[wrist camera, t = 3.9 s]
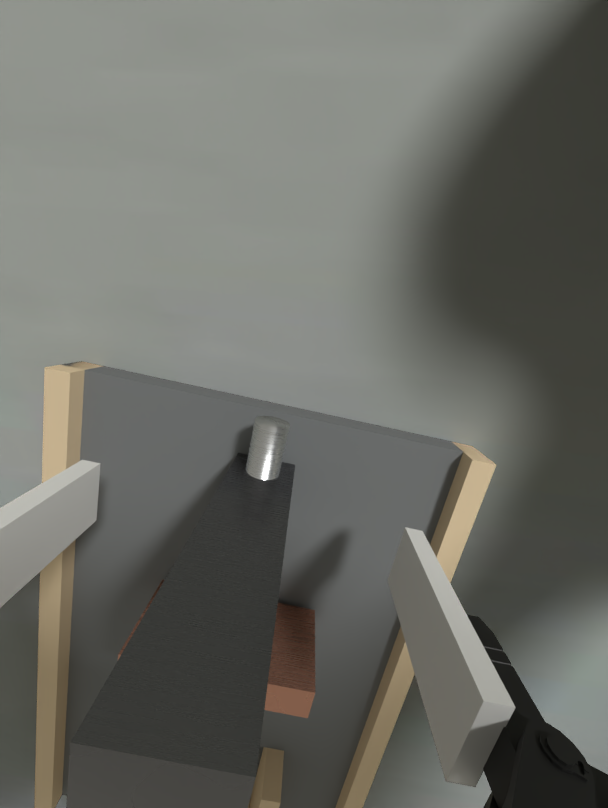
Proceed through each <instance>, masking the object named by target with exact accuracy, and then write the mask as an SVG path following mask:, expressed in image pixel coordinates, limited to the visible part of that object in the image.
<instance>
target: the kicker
mask: <svg viewBox="0 0 608 808" xmlns="http://www.w3.org/2000/svg"><path fill="white" fill-rule="evenodd" d="M289 427H290V424H289V423H288V422H287V421H285V420H283V419H280V418H277V417H272V416H258V417H256V418H255V421H254V427H253V432H252V437H251V443H250V448H249V453H248V455H247V454H242V453H238V454H237V456H236V458H235V459H234V461H233V463H232V464H231V466H230V468H229V470H228V471H227V473H226V475H225V477H224V478H223V480H222V482H221V483H220V485H219V487H218V489H217V490H216V492H215V494H214V496H213V497H212V499H211V501H210V502H209V504H208V506H207V508H206V509H205V511H204V513H203V514H202V516H201V518H200V520H199V521H198V523H197V525H196V527H195V528H194V530H193V532H192V533H191V535H190V537H189V539H188V540H187V542H186V544H185V546H184V547H183V549H182V551H181V552H180V554H179V556H178V558H177V559H176V561H175V563H174V565H173V566H172V568H171V570H170V571H169V573H168V575H167V577H166V578H165V580H162V581H161V583H160V584H159V586H158V588H157V590H156V591H155V593H154V595H153V596H152V598H151V600H150V601H149V603H148V605H147V607H146V608H145V610H144V612H143V613H142V615H141V617H140V618H139V620H138V622H137V624H136V625H135V627H134V629H133V630H132V632H131V634H130V635H129V637H128V639H127V640H126V642H125V644H124V646H123V647H122V649H121V651H120V652H119V654H118V661H117V663H116V665H115V666H114V668H113V670H112V671H111V673H110V675H109V677H108V678H107V680H106V682H105V684H104V685H103V687H102V689H101V690H100V692H99V694H98V696H97V697H96V699H95V701H94V703H93V704H92V706H91V708H90V709H89V711H88V713H87V715H86V716H85V718H84V720H83V721H82V723H81V725H80V727H79V728H78V730H77V732H76V734H75V735H74V737H73V739H72V740H71V742H70V756H69V772H68V789H67V806H66V808H248V805H249V801H250V798H251V794H252V790H253V786H254V782H255V779H256V772H257V764H258V756H259V748H260V740H261V732H262V724H263V717H264V710H267V711H272V712H277V713H283V714H288V715H293V716H298V717H303V718H308V716H309V713H310V709H311V706H312V703H313V699H314V696H315V610H311V609H306V608H301V607H296V606H291V605H287V604H282V603H278V598H279V590H280V582H281V574H282V566H283V558H284V550H285V542H286V534H287V527H288V519H289V511H290V503H291V495H292V487H293V479H294V471H295V465H294V464H289V463H285V462H282V459H283V455H284V450H285V446H286V441H287V436H288V432H289Z"/></svg>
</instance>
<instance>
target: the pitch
mask: <svg viewBox="0 0 608 808" xmlns="http://www.w3.org/2000/svg"><path fill="white" fill-rule="evenodd" d="M258 416H272V417H277V418H280V419H283V420H285V421H287V422H288V423H289V424H290V427H289V432H288V436H287V441H286V446H285V450H284V455H283V459H282V462H285V463H289V464H294V465H295V471H294V479H293V487H292V495H291V503H290V511H289V519H288V527H287V534H286V542H285V550H284V558H283V566H282V574H281V582H280V590H279V598H278V603H282V604H287V605H291V606H296V607H301V608H306V609H311V610H315V696H314V699H313V703H312V706H311V709H310V713H309V716H308V718H303V717H298V716H293V715H288V714H283V713H277V712H272V711H267V710H264V717H263V724H262V732H261V740H260V748H259V756H258V764H257V772H256V779H255V782H254V786H253V790H252V794H251V798H250V801H249V805H248V808H363V805H364V803H365V800H366V798H367V795H368V793H369V790H370V787H371V785H372V782H373V780H374V777H375V775H376V772H377V769H378V767H379V764H380V762H381V759H382V757H383V754H384V752H385V749H386V746H387V744H388V741H389V739H390V736H391V734H392V731H393V729H394V726H395V723H396V721H397V718H398V716H399V713H400V711H401V708H402V705H403V703H404V700H405V698H406V695H407V693H408V690H409V688H410V685H411V682H412V680H413V677H414V675H415V673H414V670H413V666H412V663H411V659H410V656H409V652H408V649H407V646H406V642H405V639H404V635H403V632H402V628H401V625H400V621H399V618H398V615H397V611H396V608H395V604H394V601H393V597H392V594H391V590H390V587H389V584H388V577H389V574H390V571H391V568H392V565H393V562H394V559H395V556H396V553H397V550H398V547H399V544H400V541H401V538H402V535H403V532H404V529H405V527H407V528H411V529H416V530H421V531H423V533H424V535H425V537H426V539H427V540H428V542H429V544H430V546H431V548H432V550H433V552H434V554H435V556H436V558H437V559H438V561H439V563H440V565H441V567H442V569H443V571H444V573H445V575H446V576H447V578H448V580H449V582H450V583H451V580H452V578H453V575H454V572H455V570H456V567H457V565H458V562H459V560H460V557H461V554H462V552H463V549H464V547H465V544H466V542H467V539H468V537H469V534H470V531H471V529H472V526H473V524H474V521H475V519H476V516H477V514H478V511H479V508H480V506H481V503H482V501H483V498H484V496H485V493H486V490H487V488H488V485H489V483H490V480H491V478H492V475H493V473H494V470H495V467H496V464H495V463H493V462H492V461H491V460H489V459H488V458H487V457H486V456H484V455H483V454H482V453H480V452H479V451H478V450H476V449H475V448H474V447H473V446H469V445H464V444H460V443H455V442H451V441H446V440H441V439H437V438H432V437H428V436H423V435H418V434H414V433H409V432H404V431H400V430H395V429H391V428H386V427H381V426H377V425H372V424H368V423H363V422H358V421H354V420H349V419H345V418H340V417H335V416H331V415H326V414H322V413H317V412H312V411H308V410H303V409H298V408H294V407H289V406H285V405H280V404H275V403H271V402H266V401H262V400H257V399H252V398H248V397H243V396H239V395H234V394H229V393H225V392H220V391H216V390H211V389H206V388H202V387H197V386H192V385H188V384H183V383H179V382H174V381H169V380H165V379H160V378H156V377H151V376H146V375H142V374H137V373H133V372H128V371H123V370H119V369H114V368H110V367H105V366H100V365H96V364H91V363H86V362H82V361H81V362H75V363H69V364H62V365H56V366H50V367H45V377H44V420H43V463H42V483H43V482H45V481H47V480H49V479H50V478H52V477H54V476H55V475H57V474H59V473H60V472H62V471H64V470H65V469H67V468H69V467H71V466H72V465H74V464H76V463H77V462H79V461H81V460H86V461H91V462H96V463H100V478H99V492H98V506H97V520H96V521H95V522H94V523H93V524H92V525H91V526H90V527H89V528H88V529H86V530H85V531H84V532H83V533H82V534H81V535H80V536H79V537H78V538H77V539H75V540H74V541H73V542H72V543H71V544H70V545H69V546H68V547H67V548H66V549H64V550H63V551H62V552H61V553H60V554H59V555H58V556H57V557H56V558H55V559H53V560H52V561H51V562H50V563H49V564H48V565H47V566H46V567H45V568H44V569H42V570H41V571H40V591H39V634H38V677H37V720H36V763H35V806H34V808H55V807H56V805H57V803H58V801H59V799H60V797H61V795H67V789H68V772H69V756H70V742H71V740H72V739H73V737H74V735H75V734H76V732H77V730H78V728H79V727H80V725H81V723H82V721H83V720H84V718H85V716H86V715H87V713H88V711H89V709H90V708H91V706H92V704H93V703H94V701H95V699H96V697H97V696H98V694H99V692H100V690H101V689H102V687H103V685H104V684H105V682H106V680H107V678H108V677H109V675H110V673H111V671H112V670H113V668H114V666H115V665H116V663H117V661H118V654H119V652H120V651H121V649H122V647H123V646H124V644H125V642H126V640H127V639H128V637H129V635H130V634H131V632H132V630H133V629H134V627H135V625H136V624H137V622H138V620H139V618H140V617H141V615H142V613H143V612H144V610H145V608H146V607H147V605H148V603H149V601H150V600H151V598H152V596H153V595H154V593H155V591H156V590H157V588H158V586H159V584H160V583H161V581H162V580H165V578H166V577H167V575H168V573H169V571H170V570H171V568H172V566H173V565H174V563H175V561H176V559H177V558H178V556H179V554H180V552H181V551H182V549H183V547H184V546H185V544H186V542H187V540H188V539H189V537H190V535H191V533H192V532H193V530H194V528H195V527H196V525H197V523H198V521H199V520H200V518H201V516H202V514H203V513H204V511H205V509H206V508H207V506H208V504H209V502H210V501H211V499H212V497H213V496H214V494H215V492H216V490H217V489H218V487H219V485H220V483H221V482H222V480H223V478H224V477H225V475H226V473H227V471H228V470H229V468H230V466H231V464H232V463H233V461H234V459H235V458H236V456H237V454H238V453H242V454H247V455H248V453H249V448H250V443H251V437H252V432H253V427H254V421H255V418H256V417H258Z"/></svg>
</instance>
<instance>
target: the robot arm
mask: <svg viewBox="0 0 608 808" xmlns="http://www.w3.org/2000/svg"><path fill="white" fill-rule="evenodd" d="M99 478H100V463H96V462H91V461H86V460H81V461H79V462H77V463H76V464H74V465H72V466H71V467H69V468H67V469H65V470H64V471H62V472H60V473H59V474H57V475H55V476H54V477H52V478H50V479H49V480H47V481H45V482H43V483H42V484H40V485H38V486H37V487H35V488H33V489H32V490H30V491H28V492H26V493H25V494H23V495H21V496H20V497H18V498H16V499H15V500H13V501H11V502H9V503H8V504H6V505H4V506H3V507H1V508H0V608H1V607H2V606H3V605H4V604H5V603H6V602H7V601H8V600H9V599H11V598H12V597H13V596H14V595H15V594H16V593H17V592H18V591H19V590H20V589H22V588H23V587H24V586H25V585H26V584H27V583H28V582H29V581H30V580H31V579H33V578H34V577H35V576H36V575H37V574H38V573H39V572H40V571H41V570H42V569H44V568H45V567H46V566H47V565H48V564H49V563H50V562H51V561H52V560H53V559H55V558H56V557H57V556H58V555H59V554H60V553H61V552H62V551H63V550H64V549H66V548H67V547H68V546H69V545H70V544H71V543H72V542H73V541H74V540H75V539H77V538H78V537H79V536H80V535H81V534H82V533H83V532H84V531H85V530H86V529H88V528H89V527H90V526H91V525H92V524H93V523H94V522H95V521H96V520H97V506H98V492H99ZM388 584H389V587H390V590H391V594H392V597H393V601H394V604H395V608H396V611H397V615H398V618H399V621H400V625H401V628H402V632H403V635H404V639H405V642H406V646H407V649H408V652H409V656H410V659H411V663H412V666H413V670H414V673H415V677H416V680H417V683H418V687H419V690H420V694H421V697H422V701H423V704H424V708H425V711H426V714H427V718H428V721H429V725H430V728H431V732H432V735H433V738H434V742H435V745H436V749H437V752H438V756H439V759H440V763H441V766H442V769H443V773H444V776H445V780H446V782H452V783H457V784H462V785H467V786H473V787H476V785H477V783H478V781H479V779H480V777H481V775H482V773H483V771H484V772H485V775H486V777H487V780H488V782H489V785H490V788H491V790H492V792H491V794H490V796H489V798H488V800H487V802H486V804H485V806H484V808H608V775H607V774H605V773H604V772H602V771H600V770H598V769H596V768H594V767H592V766H590V765H589V764H588V763H587V762H586V760H585V758H584V756H583V755H582V754H581V753H580V751H579V750H578V749H577V748H576V746H575V745H574V744H573V743H572V742H571V741H570V740H569V739H568V738H567V737H566V736H565V735H564V734H562V733H561V732H560V731H559V730H557V729H556V728H554V727H552V726H551V725H549V724H548V723H546V722H545V721H544V719H543V718H542V716H541V714H540V712H539V711H538V709H537V707H536V706H535V704H534V702H533V700H532V699H531V697H530V695H529V693H528V692H527V690H526V688H525V687H524V685H523V683H522V681H521V680H520V678H519V676H518V675H517V673H516V671H515V669H514V668H513V667H512V666H511V663H510V661H509V659H508V657H507V656H506V654H505V653H504V652H503V649H502V647H501V645H500V644H499V642H498V640H497V639H496V637H495V635H494V633H493V632H492V631H491V630H490V629H489V628H488V627H487V626H486V624H485V623H484V622H483V621H482V620H481V619H480V618H479V617H475V616H470V615H467V614H466V612H465V611H464V609H463V607H462V605H461V603H460V601H459V599H458V597H457V595H456V594H455V592H454V590H453V588H452V586H451V584H450V582H449V580H448V578H447V576H446V575H445V573H444V571H443V569H442V567H441V565H440V563H439V561H438V559H437V558H436V556H435V554H434V552H433V550H432V548H431V546H430V544H429V542H428V540H427V539H426V537H425V535H424V533H423V531H421V530H416V529H411V528H407V527H405V529H404V532H403V535H402V538H401V541H400V544H399V547H398V550H397V553H396V556H395V559H394V562H393V565H392V568H391V571H390V574H389V577H388Z"/></svg>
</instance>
